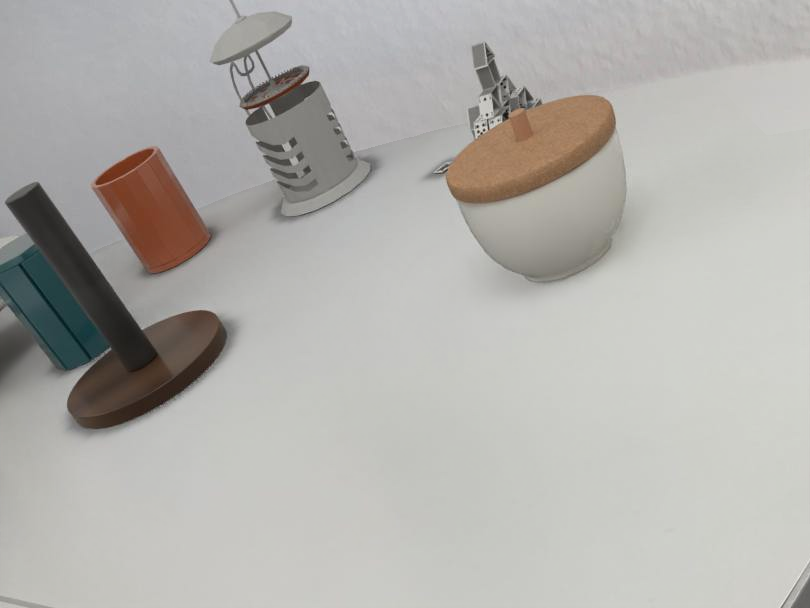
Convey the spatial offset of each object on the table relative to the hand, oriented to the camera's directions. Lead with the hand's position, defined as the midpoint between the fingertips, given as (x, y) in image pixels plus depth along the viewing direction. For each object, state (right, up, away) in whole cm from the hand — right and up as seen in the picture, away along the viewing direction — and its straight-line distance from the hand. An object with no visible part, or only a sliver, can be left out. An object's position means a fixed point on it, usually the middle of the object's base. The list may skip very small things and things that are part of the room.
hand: (9, 296), depth 88 cm
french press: (+27, +13, +8) cm, 31 cm away
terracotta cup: (+11, +9, +12) cm, 19 cm away
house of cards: (+43, +13, -2) cm, 45 cm away
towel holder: (+15, -9, -8) cm, 20 cm away
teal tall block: (+6, -4, +3) cm, 8 cm away
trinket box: (+48, -6, -23) cm, 53 cm away
